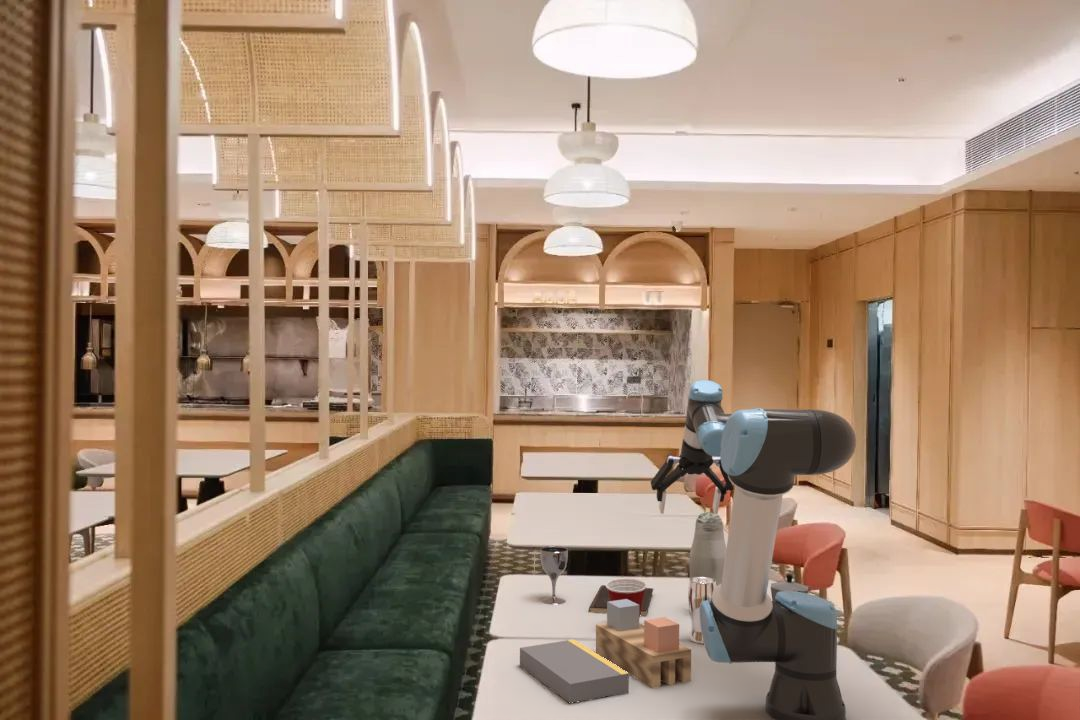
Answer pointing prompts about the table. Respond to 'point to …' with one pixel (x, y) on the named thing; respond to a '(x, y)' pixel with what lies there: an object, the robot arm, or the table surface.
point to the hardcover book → (603, 597)
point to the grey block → (623, 615)
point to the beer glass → (698, 603)
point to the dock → (574, 670)
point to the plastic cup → (627, 590)
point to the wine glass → (553, 568)
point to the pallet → (642, 656)
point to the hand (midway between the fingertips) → (688, 510)
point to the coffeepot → (787, 586)
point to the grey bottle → (708, 548)
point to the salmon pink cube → (661, 634)
